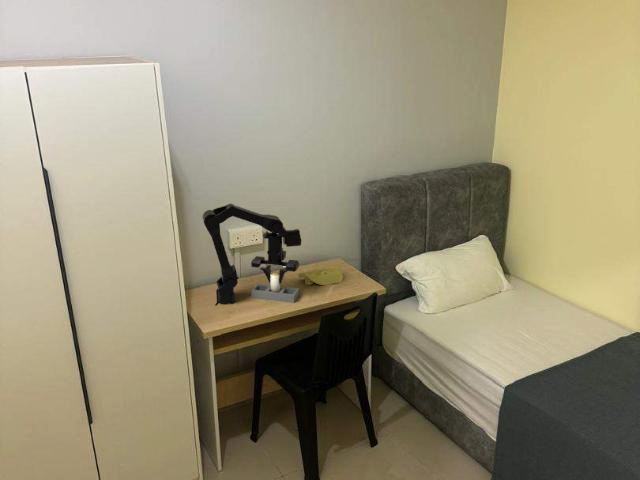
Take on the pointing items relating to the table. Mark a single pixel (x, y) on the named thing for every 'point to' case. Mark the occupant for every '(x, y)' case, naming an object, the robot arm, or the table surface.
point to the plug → (274, 282)
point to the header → (275, 293)
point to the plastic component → (323, 276)
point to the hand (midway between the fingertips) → (275, 283)
